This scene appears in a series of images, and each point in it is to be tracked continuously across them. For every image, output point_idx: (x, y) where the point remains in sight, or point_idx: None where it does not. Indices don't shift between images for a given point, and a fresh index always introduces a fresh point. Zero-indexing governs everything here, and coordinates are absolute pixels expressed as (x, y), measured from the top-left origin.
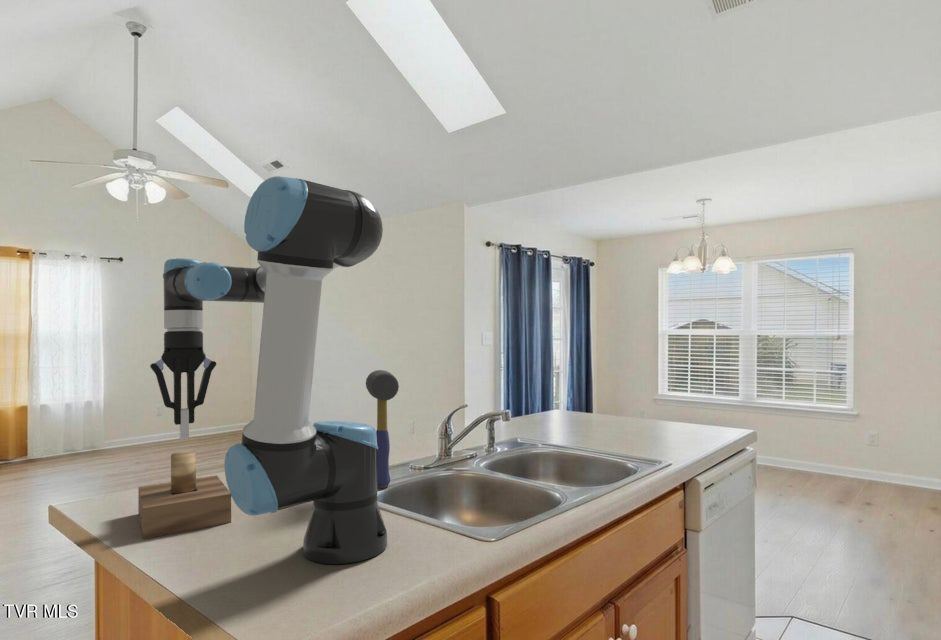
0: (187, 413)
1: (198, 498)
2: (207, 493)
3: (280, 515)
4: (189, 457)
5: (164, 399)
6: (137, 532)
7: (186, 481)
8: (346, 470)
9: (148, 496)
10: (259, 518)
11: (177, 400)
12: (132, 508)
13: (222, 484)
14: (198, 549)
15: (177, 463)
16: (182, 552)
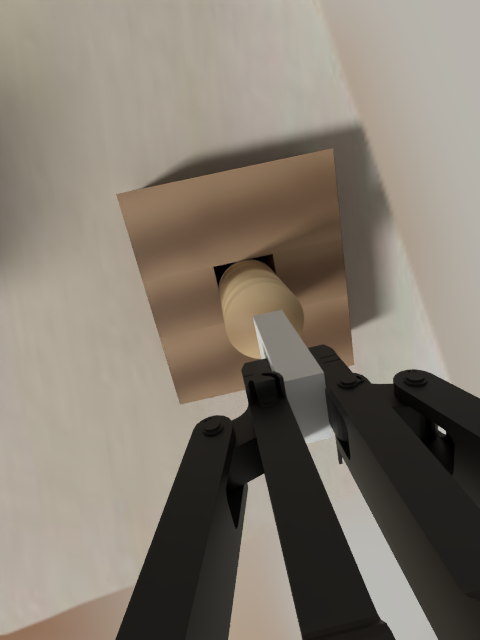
0: (281, 367)
1: (202, 181)
2: (183, 227)
3: (14, 198)
4: (242, 289)
5: (465, 394)
6: None
7: (242, 267)
8: None
9: (327, 262)
10: (66, 196)
11: (371, 408)
12: None
13: (154, 306)
14: (184, 12)
15: (276, 280)
16: (218, 8)
